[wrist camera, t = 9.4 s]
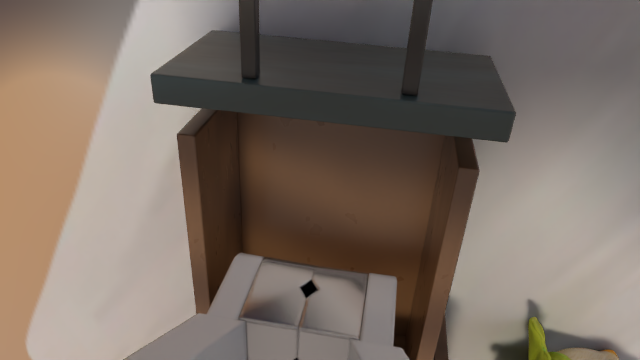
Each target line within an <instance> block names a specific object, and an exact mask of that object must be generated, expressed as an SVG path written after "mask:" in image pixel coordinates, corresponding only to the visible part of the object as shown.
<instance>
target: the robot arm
mask: <svg viewBox="0 0 640 360" xmlns="http://www.w3.org/2000/svg"><path fill="white" fill-rule="evenodd" d="M367 280H368V281H367ZM366 288H367V289H366ZM396 291H397V279H396V277H395V276H389V275H381V274H374V273H369V276H368V273H363V272H357V271H350V270H343V269H336V268H329V267H323V266H316V265H310V264H304V263H299V262H293V261H288V260H282V259H276V258H271V257H262V256H256V255H251V254H245V253H239V254H238V255H237V256H235V257H234V259H233V261H232V263H231V265H230V267H229V269H228V271H227V273H226V275H225V277H224V279H223V282H222V284H221V286H220V288H219V290H218V292H217V294H216V296H215V298H214V300H213V302H212V304H211V306H210V308H209V310H208V312H207V314H201V313H198V314H196V315H194V316H193V317H191V318H190V319H188V320H186V321H185V322H183V323H182V324H180V325H178V326H177V327H175V328H173V329H172V330H170V331H169V332H167V333H165V334H164V335H162V336H160V337H159V338H157V339H156V340H154V341H152V342H151V343H149V344H148V345H146V346H144V347H143V348H141V349H139V350H138V351H136V352H135V353H133V354H131V355H130V356H128V357H127V358H125V359H123V360H409V358H408V357H407V355H406V354H405V352H404V350H403V349H402V348H399V347H394V346H393V343H394V326H395V308H396ZM365 295H366V296H365ZM364 303H365V304H364ZM363 310H364V311H363Z"/></svg>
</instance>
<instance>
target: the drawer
mask: <svg viewBox="0 0 640 360" xmlns="http://www.w3.org/2000/svg"><path fill="white" fill-rule="evenodd" d="M432 2H433V0H414V2H413V10H412V17H411V24H410V31H409V38H408V46H407V48H399V47H388V46H377V45H366V44H356V43H345V42H334V41H323V40H313V39H302V38H291V37H280V36H270V35H259V0H239V21H240V33H238V32H227V31H216V30H212V31H211V32H209V33H208V34H206V35H205V36H204V37H202V38H201V39H199V40H198V41H196V42H195V43H194V44H192V45H191V46H189V47H188V48H187V49H185V50H184V51H182V52H181V53H180V54H178V55H177V56H175V57H174V58H173V59H171V60H170V61H168V62H167V63H166V64H164V65H163V66H161V67H160V68H159V69H157V70H156V71H154V72H153V73H152V74H151V84H152V91H153V99H154V103H159V104H168V105H177V106H186V107H195V108H202V109H201V110H200V111H199V112H198V113H197V114H196V115H195V116H194V117H193V118H192V119H191V120H190V121H189V122H188V123H187V124H186V125H185V126H184V127H183V128H182V129H181V130H180V132H179V133H178V134H177V141H178V150H179V159H180V168H181V177H182V186H183V195H184V204H185V213H186V222H187V231H188V240H189V250H190V259H191V268H192V277H193V286H194V295H195V304H196V313H197V314H198V313H201V314H207V312H208V310H209V308H210V306H211V304H212V302H213V300H214V298H215V296H216V294H217V292H218V290H219V288H220V286H221V284H222V282H223V279H224V277H225V275H226V273H227V271H228V269H229V267H230V265H231V263H232V261H233V259H234V257H235V256H237V255H238V254H239V253H245V254H251V255H256V256H262V257H271V258H276V259H282V260H288V261H293V262H299V263H304V264H310V265H316V266H323V267H329V268H336V269H343V270H350V271H357V272H363V273H368V276H369V273H374V274H381V275H389V276H395V277H396V279H397V291H396V308H395V326H394V343H393V346H394V347H399V348H402V349H403V350H404V352H405V354H406V355H407V357H408V358H409V360H433V358H434V354H435V350H436V346H437V342H438V338H439V334H440V330H441V326H442V321H443V317H444V313H445V309H446V305H447V301H448V297H449V293H450V289H451V285H452V281H453V277H454V273H455V269H456V265H457V261H458V256H459V252H460V248H461V244H462V240H463V236H464V232H465V228H466V224H467V220H468V216H469V212H470V208H471V204H472V200H473V196H474V191H475V187H476V183H477V179H478V175H479V167H478V162H477V158H476V154H475V149H474V145H473V140H472V139H481V140H490V141H499V142H508V141H509V138H510V134H511V131H512V127H513V123H514V120H515V116H516V112H515V110H514V107H513V105H512V103H511V101H510V98H509V96H508V94H507V92H506V90H505V87H504V85H503V83H502V81H501V78H500V76H499V74H498V72H497V69H496V67H495V65H494V63H493V61H492V58H491V57H490V56H484V55H474V54H463V53H452V52H442V51H431V50H425V46H426V40H427V34H428V27H429V21H430V15H431V8H432ZM367 281H368V280H367ZM366 289H367V288H366ZM365 296H366V295H365ZM364 304H365V303H364ZM363 311H364V310H363Z"/></svg>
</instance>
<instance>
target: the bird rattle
mask: <svg viewBox="0 0 640 360" xmlns="http://www.w3.org/2000/svg"><path fill="white" fill-rule="evenodd" d="M528 333H529V348H528V360H619V358H618V356H617V355H616V353H615V352H614V351H613V350H610V349H606V350H602V351H595V350H592V349H587V348H567V349H563V350H560V351H557V352H548V350H547V347H546V345H545V333H544V330H543V328H542V326H541V324H540V323H539V322H538V320H537V318H536V317H532V318H530V319H529V325H528Z"/></svg>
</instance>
